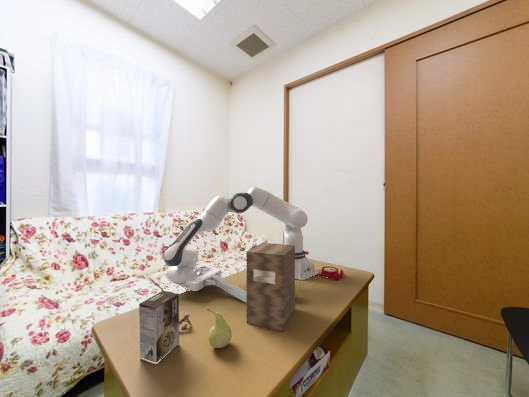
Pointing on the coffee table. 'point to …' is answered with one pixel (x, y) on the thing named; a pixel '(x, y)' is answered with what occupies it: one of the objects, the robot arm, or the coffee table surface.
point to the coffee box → (159, 325)
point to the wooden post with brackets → (185, 321)
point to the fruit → (219, 332)
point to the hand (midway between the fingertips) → (218, 280)
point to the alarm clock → (331, 272)
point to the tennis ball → (296, 291)
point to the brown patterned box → (270, 285)
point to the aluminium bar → (230, 288)
